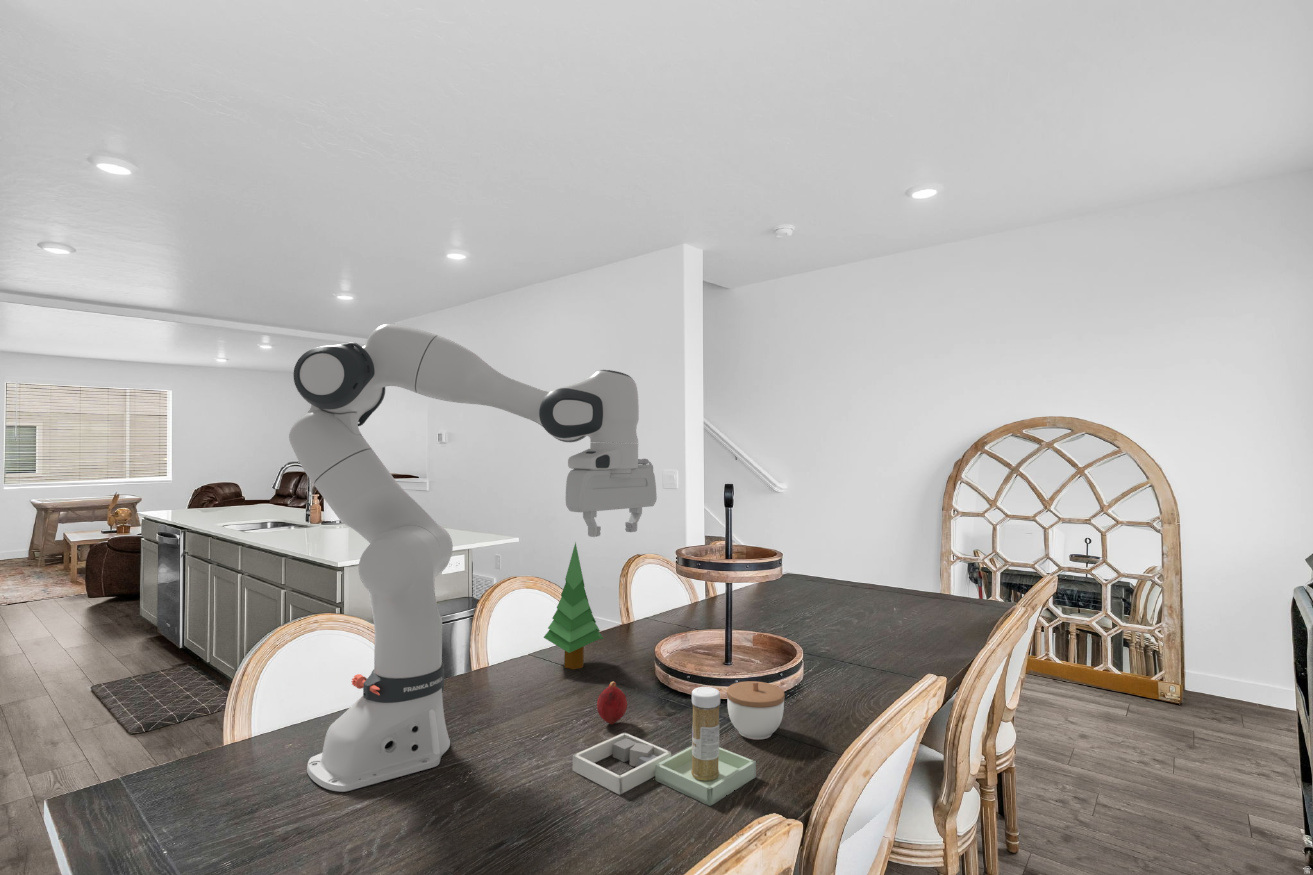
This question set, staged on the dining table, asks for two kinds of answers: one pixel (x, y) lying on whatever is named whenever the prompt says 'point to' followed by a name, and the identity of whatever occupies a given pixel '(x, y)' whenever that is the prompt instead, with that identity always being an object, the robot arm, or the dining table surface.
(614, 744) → the gravel bin
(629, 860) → the dining table surface
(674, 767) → the green bin
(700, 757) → the sprinkles bottle
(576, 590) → the decorative tree
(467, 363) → the robot arm
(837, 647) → the dining table surface
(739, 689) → the lidded jar
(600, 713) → the onion
